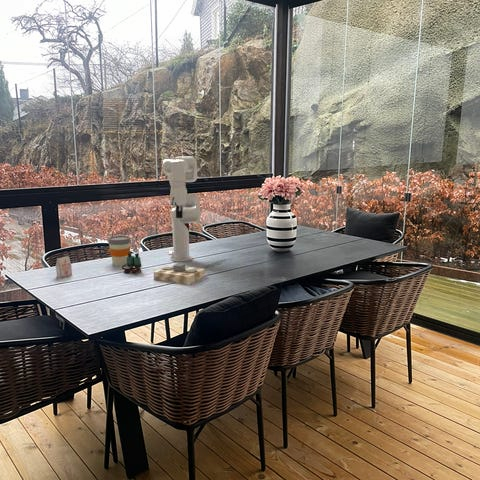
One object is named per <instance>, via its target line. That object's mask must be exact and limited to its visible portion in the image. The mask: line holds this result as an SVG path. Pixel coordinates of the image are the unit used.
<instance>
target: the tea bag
mask: <svg viewBox="0 0 480 480" xmlns="http://www.w3.org/2000/svg"><path fill="white" fill-rule="evenodd" d="M55 270H56V273H55V274H56V277H57V278H59V279H61V278H65V277H66V278H67V277H69V276H73V269H72V262H71V259H70V256H64V257H60V258H59V257H58V258H57V259H56V263H55Z"/></svg>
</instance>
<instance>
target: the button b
mask: <svg viewBox="0 0 480 480" xmlns="http://www.w3.org/2000/svg"><path fill="white" fill-rule="evenodd" d="M172 265H173V267H174V271H176V272H182V271H185V267H186V263H180V262H177V263H176V264H172Z"/></svg>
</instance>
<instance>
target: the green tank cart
mask: <svg viewBox="0 0 480 480" xmlns="http://www.w3.org/2000/svg"><path fill="white" fill-rule="evenodd" d="M132 253H133V252H131V251H130V252H128V257H127V263H126V264H124V265H121V269H122V270H123V273H124V274H132V275H135V274H137V273H139V272H142V269H141V268H142V266H143V265H142V261H141V257H140V256H139V252H136V253H135V254H134V255H135V256H133V255H132Z"/></svg>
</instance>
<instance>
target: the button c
mask: <svg viewBox="0 0 480 480" xmlns="http://www.w3.org/2000/svg"><path fill="white" fill-rule="evenodd" d="M195 272H197V270H187V271H185V273H192V274H193V273H195Z"/></svg>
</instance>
